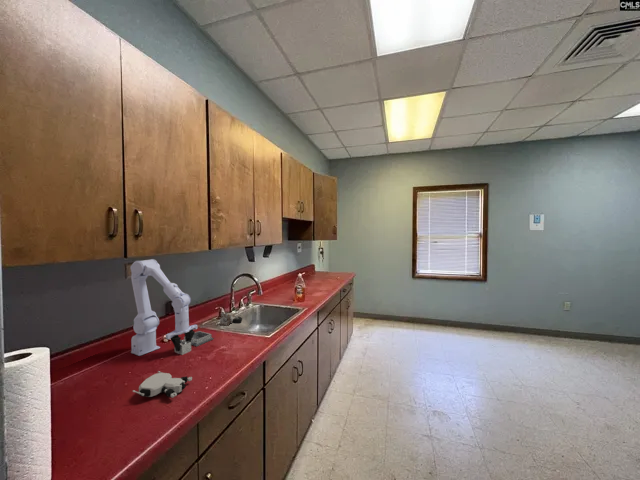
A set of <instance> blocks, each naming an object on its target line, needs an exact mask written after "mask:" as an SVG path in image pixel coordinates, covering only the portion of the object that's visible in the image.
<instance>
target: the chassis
mask: <svg viewBox="0 0 640 480" xmlns="http://www.w3.org/2000/svg"><path fill="white" fill-rule="evenodd" d="M183 338H184V340H185V335H184V337H183ZM214 339H215V338H214V337H212V334H211V333H209V332H205V331H201V330H198V331H195V333H194V335H193V337H192V340H191V346H194V347H199V346H201V345H203V344H206V343H208V342H211V341H213V340H214Z"/></svg>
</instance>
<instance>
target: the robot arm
mask: <svg viewBox="0 0 640 480" xmlns="http://www.w3.org/2000/svg"><path fill="white" fill-rule="evenodd" d="M129 268H130V272H131V273H130V274H131V277H130V279H131V285H132V289H133V296H134V301H135V305H136V310H137V315H136V316H135V317H134V319H133V327H132V328H133V331H134V333H135V335H133V336H132V337H131V341H130V342H131V345H130V346H131V351H130V353H131V354H134V355H136V356H139V357H140V356H143V355H145V354H148V353H150V352H151V353H152V352H153V351H156V350H159V349H160V348H161V346H159V345H157V329H158V326H159V325H160V318H159V317H158V316H157V313H156V312H155V310H152V307H151V302H150V295H149V291H148V287H147V282H146V280H147V279H148V277H150V276H151V277H153V279H154V280H156V281H157V282H158V283H159V285H161V286H162V289H163V293H164V294H165V295H166V296H167V297H168V298H169V300H170V301H171V306H172V307H173V312H174V323H175V324H174V325H175V326H174V327H175V329H174V330H172V331H171V332H169V333H167V334H165V339H166V340H170V341H171V342H172V344H173V346H175V348H174V351H175V350H176V351H180V340H182V339H181V338H182V337H181V336H179V335H182V334H184V336H185V340H187V341H190V342H191V340H192V337H193V335H194V333H195V332H196V331H195V330H198V324H192V325H190V317H189V310H190V309H189V305H190V304H191V303H192V298H191V296H190V295H189V294H188V293H185V292H183V291H182V290H181V289H180V287H179V286H178V284H177V283H175V282H171V281H170V280H169V279H168V277H167V276H166V275H165V273H164V271H163V270H162V269H161V264H159V263H158V261H157V260H156V259H154V258H151V259H145V260H143V259H142V260H135V261H134V262H133V263H132V264H131V265H130V267H129Z"/></svg>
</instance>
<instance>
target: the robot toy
mask: <svg viewBox="0 0 640 480" xmlns="http://www.w3.org/2000/svg"><path fill="white" fill-rule="evenodd" d="M192 380H193V377H192V376H189V377H188V376H187V375H186V376H181V377H172V375H171V374H170V373H169V372H168V373H167V372H162V371H159V370H158V371H157V373H154V374H152V375H150V376H149V377H147V378H145V379H144V380H143V382H142V383H140V385H139V386H138V391H136V390H134V389H133V390H132V393H136V394H138V395H139V396H140V397H146V398H152V397H156V396H157V395H159V394H160V393H163V394H165V395H166V397H168V398H175V397H177V395H178V394H179V393H181V392H182V391H183V390H185V388H186V384H187V383H188V382H191V381H192Z"/></svg>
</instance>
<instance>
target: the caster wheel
mask: <svg viewBox="0 0 640 480" xmlns="http://www.w3.org/2000/svg"><path fill="white" fill-rule="evenodd" d="M242 321H243V317H241V316H237V315H235V314H234V313H232V312H228V313H225V312H221V316H220V318H219V325H223V326H227V327H229V326H230V324H238V325H239V324H241V323H242Z"/></svg>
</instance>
